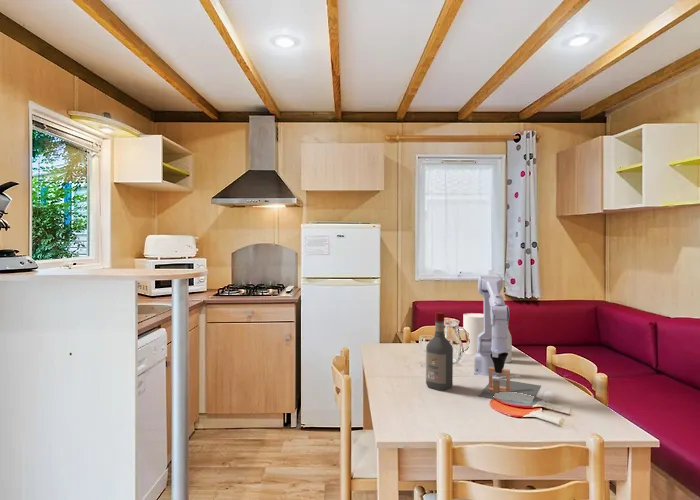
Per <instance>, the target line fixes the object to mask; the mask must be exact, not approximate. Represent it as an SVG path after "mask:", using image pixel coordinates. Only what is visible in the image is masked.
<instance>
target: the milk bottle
mask: <svg viewBox="0 0 700 500" xmlns="http://www.w3.org/2000/svg"><path fill="white" fill-rule="evenodd" d="M509 324H510V323H509V321H507V349H510V352H506V353H508V356H507V357H506V360H505V363H507V364H509V363H510V364H511V362H512V360H513V359H512V353H513V349H512V346H513V345H512V344H513V343H512V341H513V340H512V334H511V332H510V329H509Z"/></svg>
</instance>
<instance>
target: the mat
mask: <svg viewBox="0 0 700 500" xmlns="http://www.w3.org/2000/svg"><path fill="white" fill-rule="evenodd" d="M492 380H493V381H494V380H498V378H497V377H492ZM500 386H503V387H507V386H506V379H502V380H501V382H500ZM541 387H542V385H539V384H533V383H527V382H522V381H515V380H510V388H511V391H510V392H517V393H523V394H527V395H531V396H534V397H535V398H536V397H537V395H538V393H539V391H540V389H541ZM488 389H489V383H487V384H486V386H485V387H484V388H483V389H482V390H481V392H480V393H479V394H478V395H477V396H478V397H479V398H484V399H485V398H486V399H491V400H494V399H493V398H494V397H493V392H490V391H488Z"/></svg>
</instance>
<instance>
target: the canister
mask: <svg viewBox="0 0 700 500" xmlns="http://www.w3.org/2000/svg"><path fill="white" fill-rule="evenodd" d="M462 319H463V320H462V321H463V323H462V325H463V326H462V329H463V328H464V329H465V330H466V331H467V332H468V333H469V339H470V344H469V348H468V350H467V351H466V352H465V353H466V354H465V353H464V354H465V355H468V354H469V356H474V357H475V354H476V353H478V351H477V337H478V335H479V334H481V333H482V332H483V331H484V313H476V312H475V313H474V312H470V313H469V312H467V313H463V318H462ZM484 339H486V338H484Z"/></svg>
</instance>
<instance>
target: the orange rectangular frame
mask: <svg viewBox="0 0 700 500" xmlns="http://www.w3.org/2000/svg"><path fill="white" fill-rule="evenodd" d="M510 371H511V370H510V369H508V368H503V369H502V372H501V373H500V374H504V375H505V376H506V379H505V380H506V386H507V387H503V386H500V392H510V391H511V388H510V381H511V379H510V376H511V375H510V374H511V372H510ZM492 372H495V368H494V367H489V376H488V384H489V389H488V391H490V392H493V380H492V379H493V377H492ZM495 373H496V372H495Z"/></svg>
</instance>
